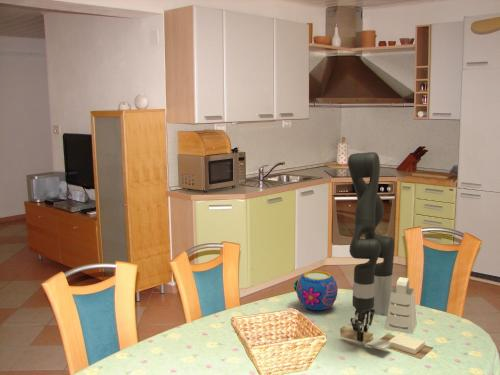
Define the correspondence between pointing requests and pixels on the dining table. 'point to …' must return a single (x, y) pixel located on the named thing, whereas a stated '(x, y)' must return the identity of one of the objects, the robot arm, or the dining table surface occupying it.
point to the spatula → (365, 338)
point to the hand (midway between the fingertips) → (362, 339)
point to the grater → (402, 307)
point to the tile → (407, 344)
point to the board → (419, 354)
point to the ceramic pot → (316, 290)
